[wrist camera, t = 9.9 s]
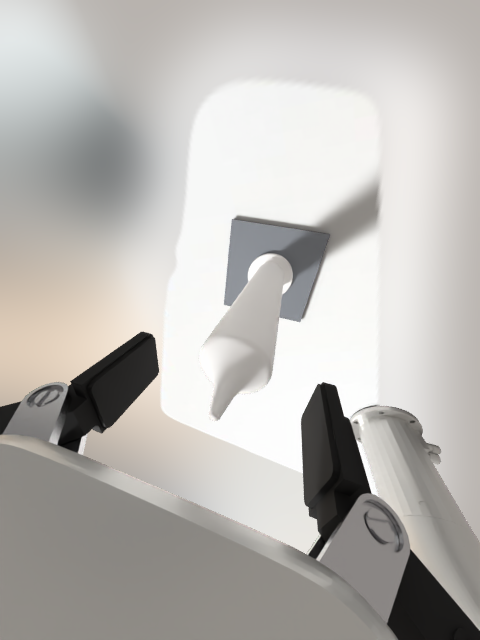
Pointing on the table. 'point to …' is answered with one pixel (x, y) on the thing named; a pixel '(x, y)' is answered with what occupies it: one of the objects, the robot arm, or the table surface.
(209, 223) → the table surface
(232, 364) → the candle
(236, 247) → the mat
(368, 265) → the table surface
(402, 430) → the robot arm
